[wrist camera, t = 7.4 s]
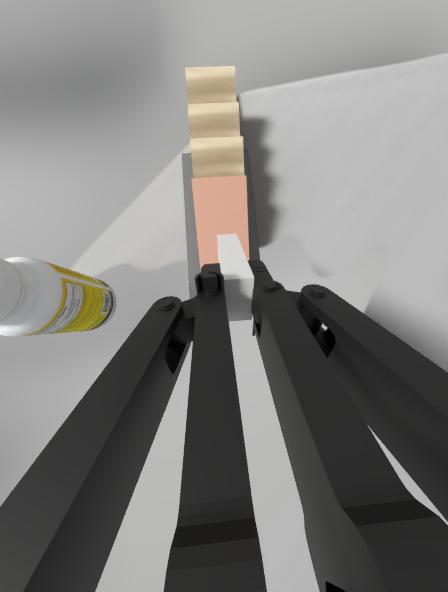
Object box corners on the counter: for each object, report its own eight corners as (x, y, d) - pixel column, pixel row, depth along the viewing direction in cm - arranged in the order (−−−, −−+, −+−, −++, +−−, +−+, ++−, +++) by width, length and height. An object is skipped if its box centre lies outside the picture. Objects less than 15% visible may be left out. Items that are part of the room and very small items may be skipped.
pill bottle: (57, 298, 21) (-114, 273, 11) (102, 270, 22) (-14, 220, 11) (81, 341, 21) (-74, 363, 10) (127, 311, 21) (30, 301, 10)
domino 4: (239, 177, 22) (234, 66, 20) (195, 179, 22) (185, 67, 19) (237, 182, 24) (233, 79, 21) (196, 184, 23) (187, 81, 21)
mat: (265, 309, 22) (265, 308, 21) (191, 315, 21) (190, 315, 21) (247, 152, 25) (247, 150, 24) (182, 155, 24) (181, 153, 24)
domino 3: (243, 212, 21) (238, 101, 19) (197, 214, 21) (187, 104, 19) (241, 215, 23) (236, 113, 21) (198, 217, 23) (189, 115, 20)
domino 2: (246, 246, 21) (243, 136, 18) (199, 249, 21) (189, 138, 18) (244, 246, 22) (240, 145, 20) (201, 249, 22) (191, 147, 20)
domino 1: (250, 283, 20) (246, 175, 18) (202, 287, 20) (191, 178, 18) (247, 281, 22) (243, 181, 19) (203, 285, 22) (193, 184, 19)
